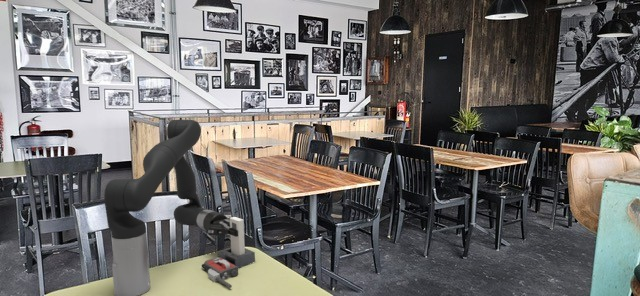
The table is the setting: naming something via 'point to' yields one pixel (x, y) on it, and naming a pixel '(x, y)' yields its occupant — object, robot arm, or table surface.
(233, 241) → the white tall block
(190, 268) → the table surface
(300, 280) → the table surface
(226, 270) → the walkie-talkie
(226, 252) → the holder
